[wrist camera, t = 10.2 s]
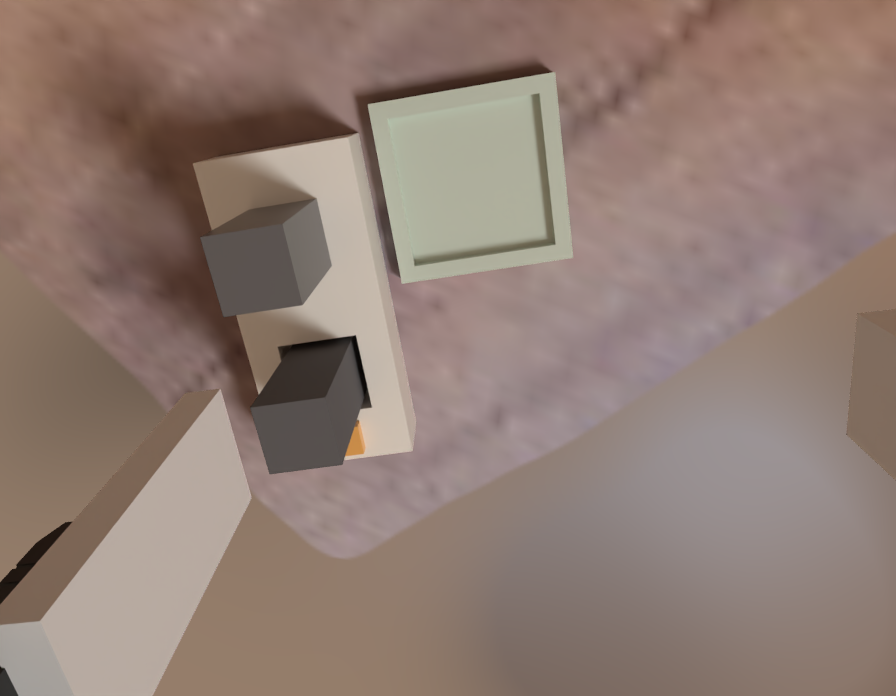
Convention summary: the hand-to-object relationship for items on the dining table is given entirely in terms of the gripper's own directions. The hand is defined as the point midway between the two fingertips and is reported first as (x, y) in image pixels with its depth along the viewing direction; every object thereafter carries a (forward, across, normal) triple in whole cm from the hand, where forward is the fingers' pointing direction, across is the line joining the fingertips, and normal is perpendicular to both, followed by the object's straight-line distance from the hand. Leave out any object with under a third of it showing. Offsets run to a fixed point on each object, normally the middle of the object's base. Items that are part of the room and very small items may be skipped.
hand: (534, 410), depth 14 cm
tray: (+30, -1, 0) cm, 30 cm away
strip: (+30, -12, -6) cm, 33 cm away
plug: (+29, -12, -10) cm, 33 cm away
